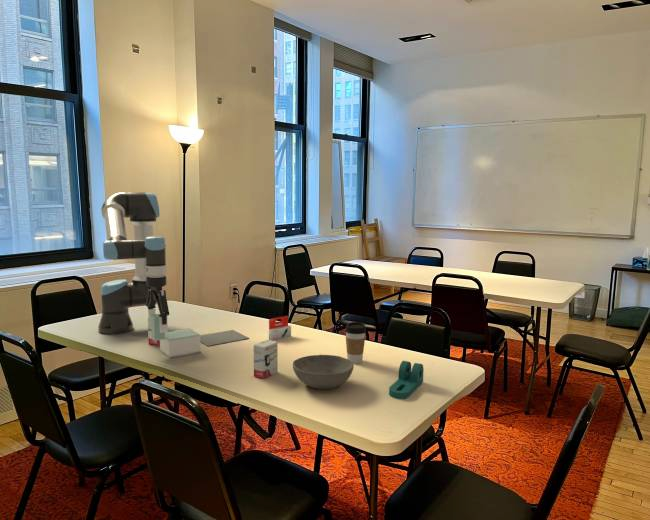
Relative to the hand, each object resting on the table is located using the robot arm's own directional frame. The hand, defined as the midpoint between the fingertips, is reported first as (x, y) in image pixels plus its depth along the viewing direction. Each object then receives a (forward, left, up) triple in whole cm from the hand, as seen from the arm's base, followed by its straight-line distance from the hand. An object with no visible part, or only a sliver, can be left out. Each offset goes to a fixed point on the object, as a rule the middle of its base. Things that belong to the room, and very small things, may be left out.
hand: (157, 328), depth 197 cm
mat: (-8, +31, -11) cm, 34 cm away
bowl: (+62, +36, -12) cm, 73 cm away
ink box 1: (-18, +6, -12) cm, 22 cm away
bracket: (+81, +57, -12) cm, 100 cm away
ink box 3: (+7, +53, -12) cm, 55 cm away
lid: (0, +7, -5) cm, 8 cm away
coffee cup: (+50, +61, -12) cm, 80 cm away
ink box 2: (+42, +25, -12) cm, 50 cm away
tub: (0, +9, -11) cm, 14 cm away
